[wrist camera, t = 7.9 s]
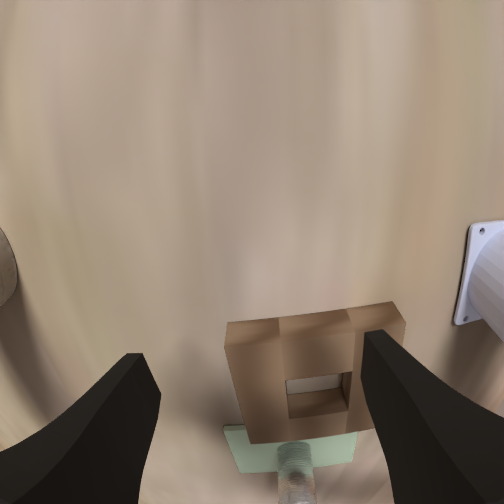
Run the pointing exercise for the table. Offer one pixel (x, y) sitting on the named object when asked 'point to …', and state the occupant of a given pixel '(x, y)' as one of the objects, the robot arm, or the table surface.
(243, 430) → the sage mat
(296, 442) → the steel peg
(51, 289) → the table surface
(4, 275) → the thermos bottle
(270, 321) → the eye block
